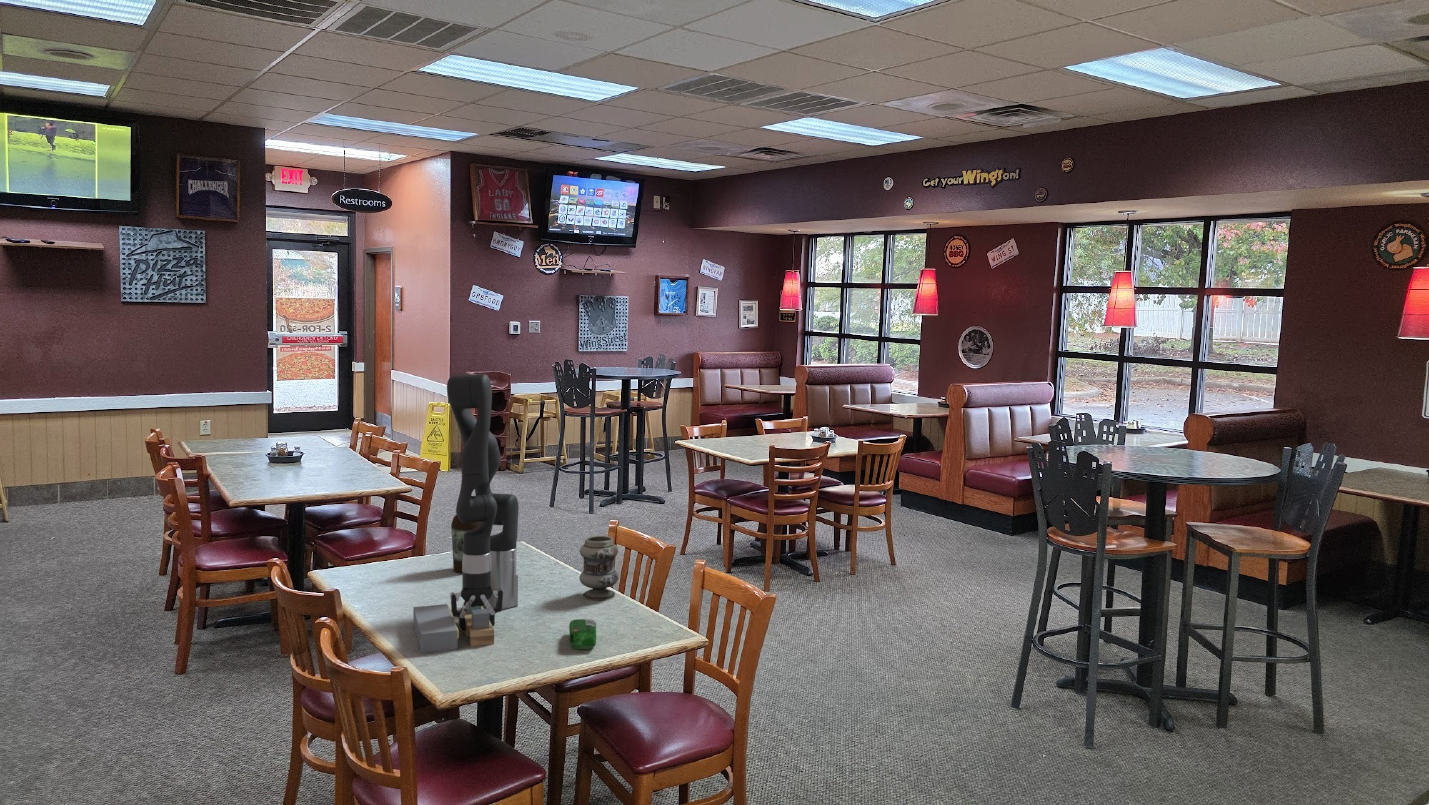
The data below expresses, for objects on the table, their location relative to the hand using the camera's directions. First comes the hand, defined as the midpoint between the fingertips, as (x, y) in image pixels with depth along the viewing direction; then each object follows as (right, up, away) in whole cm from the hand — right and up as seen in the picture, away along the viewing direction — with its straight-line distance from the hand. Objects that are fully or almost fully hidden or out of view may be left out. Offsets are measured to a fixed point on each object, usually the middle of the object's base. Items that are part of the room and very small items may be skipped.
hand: (476, 628), depth 259 cm
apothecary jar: (+29, +2, +35) cm, 46 cm away
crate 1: (-3, +4, +6) cm, 8 cm away
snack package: (+29, -3, -5) cm, 30 cm away
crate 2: (+3, +2, -7) cm, 8 cm away
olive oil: (-18, +5, +60) cm, 63 cm away
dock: (-10, -1, -4) cm, 11 cm away
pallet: (0, -1, 0) cm, 1 cm away
